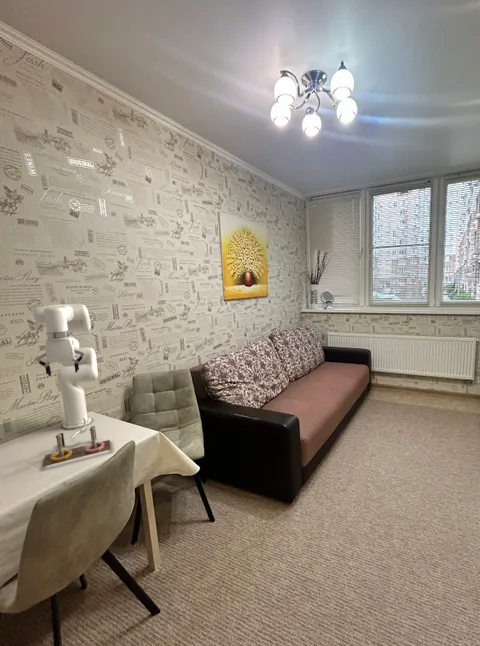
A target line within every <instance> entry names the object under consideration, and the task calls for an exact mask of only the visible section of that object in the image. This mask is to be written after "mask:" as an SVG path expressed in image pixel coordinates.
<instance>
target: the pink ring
mask: <svg viewBox="0 0 480 646" xmlns="http://www.w3.org/2000/svg"><path fill="white" fill-rule="evenodd" d="M91 427H94V428H95V429H96V426H95V425H93V426H91ZM95 437H96V445H101V446H100V447H98V448H96V449H92V450H91V449H88V448H90V447H91V446H92V442H91V443H89V444H86V445H87V446H86V447H85V452H88V453H92V452H96V451H99V450H101V449H102V448H104V443H103V442H102V441H97V432H96V430H95Z"/></svg>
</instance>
